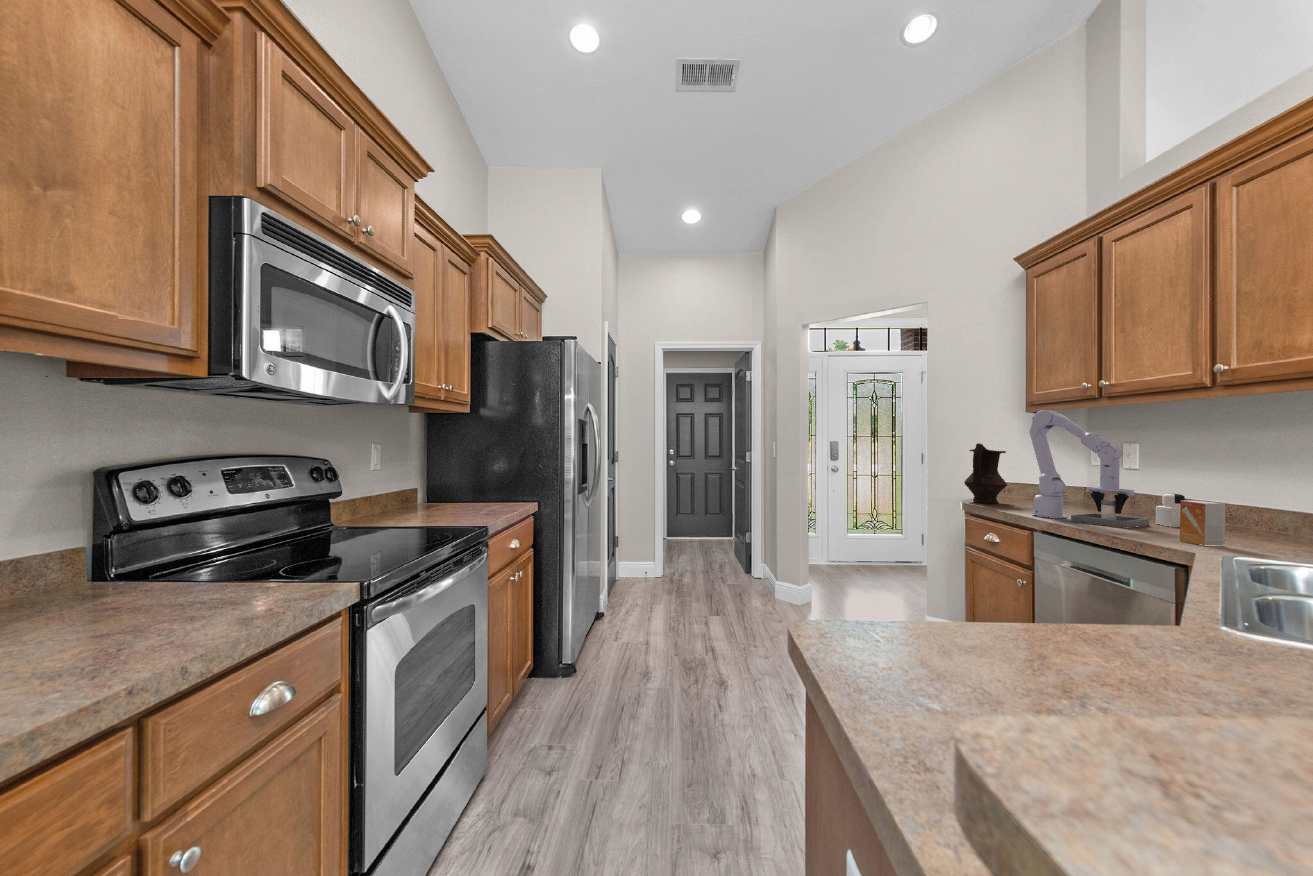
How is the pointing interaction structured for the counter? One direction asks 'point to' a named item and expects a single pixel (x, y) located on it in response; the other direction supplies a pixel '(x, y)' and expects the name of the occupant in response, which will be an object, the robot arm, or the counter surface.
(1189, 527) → the small box
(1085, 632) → the counter surface
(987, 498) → the jug
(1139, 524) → the tray
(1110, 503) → the shaker
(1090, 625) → the counter surface
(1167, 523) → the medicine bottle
